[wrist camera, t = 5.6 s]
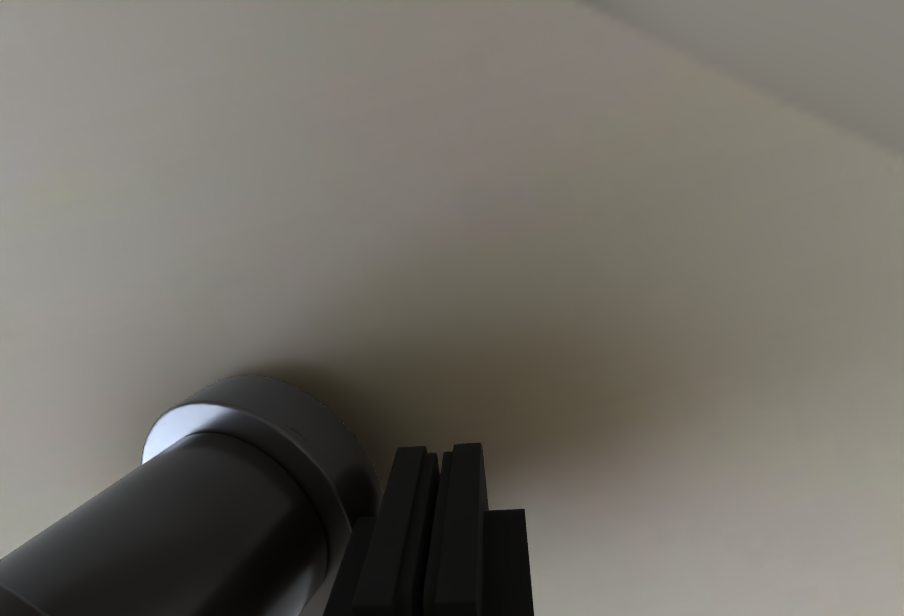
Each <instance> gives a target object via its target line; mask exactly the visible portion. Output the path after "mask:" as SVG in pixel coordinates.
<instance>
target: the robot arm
mask: <svg viewBox="0 0 904 616" xmlns="http://www.w3.org/2000/svg"><path fill="white" fill-rule="evenodd" d="M323 616H534V610H533V598H532V587H531V576H530V565H529V554H528V542H527V531H526V520H525V509H512V510H491V511H489V509H488V499H487V489H486V479H485V469H484V460H483V450H482V444H481V443H468V444H454V447H453V452H444V454H443V460H442V467H441V474H440V471H439V464H438V457H437V453H428V452H427V448H426V446H417V447H400V448H398V449H397V452H396V455H395V459H394V462H393V465H392V469H391V472H390V476H389V479H388V482H387V486H386V489H385V493H384V496H383V499H382V503H381V506H380V510H379V513H378V516H365V517H359V518H357V520H356V522H355V524H354V527H353V529H352V532H351V535H350V538H349V541H348V544H347V547H346V550H345V553H344V555H343V558H342V561H341V564H340V567H339V570H338V573H337V576H336V579H335V581H334V584H333V587H332V590H331V593H330V596H329V599H328V602H327V604H326V607H325V610H324V613H323Z"/></svg>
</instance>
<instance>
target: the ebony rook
mask: <svg viewBox="0 0 904 616" xmlns="http://www.w3.org/2000/svg"><path fill="white" fill-rule="evenodd" d="M383 496H384V493H383V490H382V487H381V483H380V480H379V477H378V475H377V473H376V471H375V468H374V466H373V464H372V462H371V460H370V459H369V457H368V455H367V453H366V452H365V450H364V448H363V447H362V445H361V444H360V443H359V441H358V440H357V439H356V437H355V436H354V434H353V433H352V432H351V431H350V430H349V429H348V428H347V426H346V425H345V424H344V423H343V422H342V421H341V420H340V419H339V418H338V417H337V416H336V415H335V414H334V413H333V412H331V411H330V410H329V409H328V408H327V407H325V406H324V405H323V404H321V403H320V402H319V401H317V400H316V399H315V398H313V397H311V396H310V395H308V394H306V393H305V392H303V391H302V390H299V389H297V388H295V387H293V386H291V385H289V384H286V383H283V382H280V381H278V380H275V379H271V378H266V377H260V376H246V375H245V376H235V377H229V378H225V379H222V380H219V381H217V382H215V383H213V384H211V385H209V386H207V387H205V388H204V389H202V390H200V391H199V392H197V393H195V394H194V395H192V396H190V397H189V398H187V399H185V400H184V401H182V402H180V403H179V404H177V405H175V406H174V407H172V408H170V409H169V410H168V411H166V412H165V413H164V414H162V415H161V416H160V417H159V419H158V420H157V421H156V422H155V423H154V425H153V426H152V428H151V430H150V432H149V433H148V435H147V438H146V441H145V444H144V447H143V453H142V465H141V466H139V467H138V468H137V469H135V470H134V471H132V472H131V473H129V474H128V475H126V476H125V477H123V478H122V479H120V480H119V481H117V482H116V483H114V484H113V485H111V486H110V487H108V488H107V489H105V490H104V491H102V492H101V493H99V494H98V495H96V496H95V497H93V498H92V499H90V500H89V501H87V502H86V503H84V504H83V505H81V506H80V507H78V508H77V509H75V510H74V511H72V512H71V513H69V514H68V515H66V516H65V517H63V518H62V519H60V520H59V521H57V522H56V523H54V524H53V525H51V526H50V527H48V528H47V529H45V530H44V531H42V532H41V533H39V534H38V535H36V536H35V537H33V538H32V539H30V540H29V541H27V542H26V543H24V544H23V545H21V546H20V547H18V548H17V549H15V550H14V551H12V552H11V553H9V554H8V555H6V556H5V557H3V558H2V559H1V560H0V616H323V613H324V610H325V607H326V604H327V602H328V599H329V596H330V593H331V590H332V587H333V584H334V581H335V579H336V576H337V573H338V570H339V567H340V564H341V561H342V558H343V555H344V553H345V550H346V547H347V544H348V541H349V538H350V535H351V532H352V529H353V527H354V524H355V522H356V520H357V518H359V517H365V516H378V513H379V510H380V506H381V503H382V499H383Z"/></svg>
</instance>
